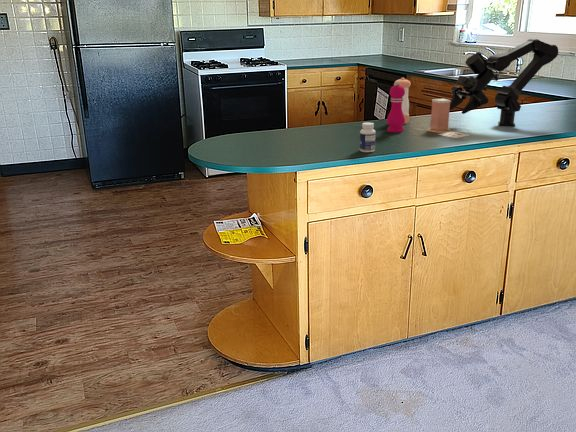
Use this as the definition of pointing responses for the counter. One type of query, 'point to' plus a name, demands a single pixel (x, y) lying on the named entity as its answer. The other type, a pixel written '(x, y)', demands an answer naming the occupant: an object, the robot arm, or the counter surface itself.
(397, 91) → the pepper mill
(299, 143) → the counter surface
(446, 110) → the tea tin
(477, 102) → the robot arm
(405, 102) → the salt shaker
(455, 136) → the tile
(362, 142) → the pill bottle
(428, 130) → the cork coaster
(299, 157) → the counter surface
